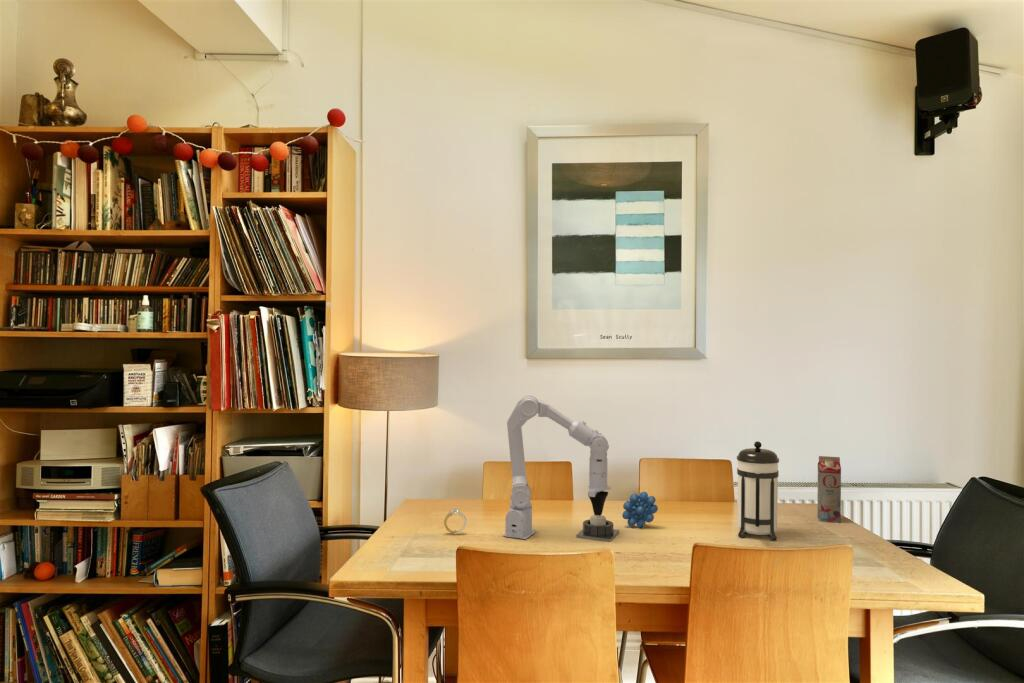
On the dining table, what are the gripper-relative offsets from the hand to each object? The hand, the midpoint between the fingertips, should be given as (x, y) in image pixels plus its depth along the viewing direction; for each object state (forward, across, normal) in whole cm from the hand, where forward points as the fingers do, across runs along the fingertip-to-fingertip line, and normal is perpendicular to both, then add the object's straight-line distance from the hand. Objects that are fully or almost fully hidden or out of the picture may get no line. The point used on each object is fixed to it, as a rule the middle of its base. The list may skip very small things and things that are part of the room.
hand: (597, 514), depth 217 cm
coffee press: (+6, +20, -47) cm, 52 cm away
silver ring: (+7, -18, +42) cm, 46 cm away
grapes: (+7, +15, -10) cm, 19 cm away
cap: (+6, 0, 0) cm, 6 cm away
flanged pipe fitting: (+6, 0, 0) cm, 6 cm away
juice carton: (+6, +51, -68) cm, 85 cm away
